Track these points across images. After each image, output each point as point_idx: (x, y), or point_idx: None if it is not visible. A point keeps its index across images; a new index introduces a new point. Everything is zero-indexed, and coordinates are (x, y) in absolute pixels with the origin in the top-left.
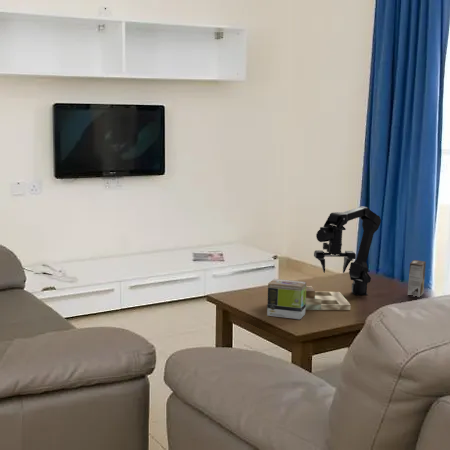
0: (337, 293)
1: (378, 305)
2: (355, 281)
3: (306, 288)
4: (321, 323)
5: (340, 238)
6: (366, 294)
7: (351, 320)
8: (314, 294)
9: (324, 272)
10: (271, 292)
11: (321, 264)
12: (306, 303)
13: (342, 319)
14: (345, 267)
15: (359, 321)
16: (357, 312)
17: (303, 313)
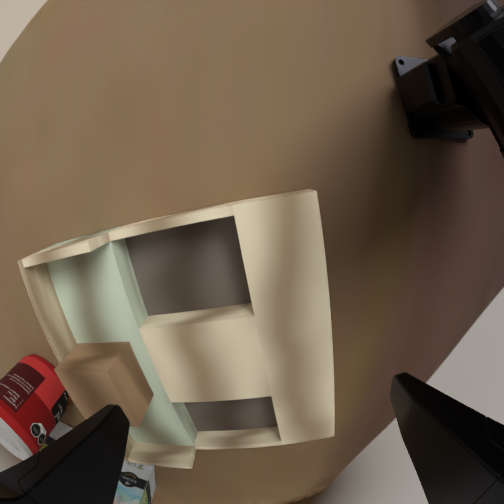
0: (296, 246)
1: (469, 322)
2: (459, 90)
3: (81, 382)
4: (215, 500)
5: None
6: (467, 138)
7: (305, 484)
8: (143, 413)
9: (127, 426)
10: None
11: (38, 466)
12: (138, 448)
13: (277, 484)
14: (430, 473)
15: (327, 484)
16: (350, 433)
17: (153, 478)
